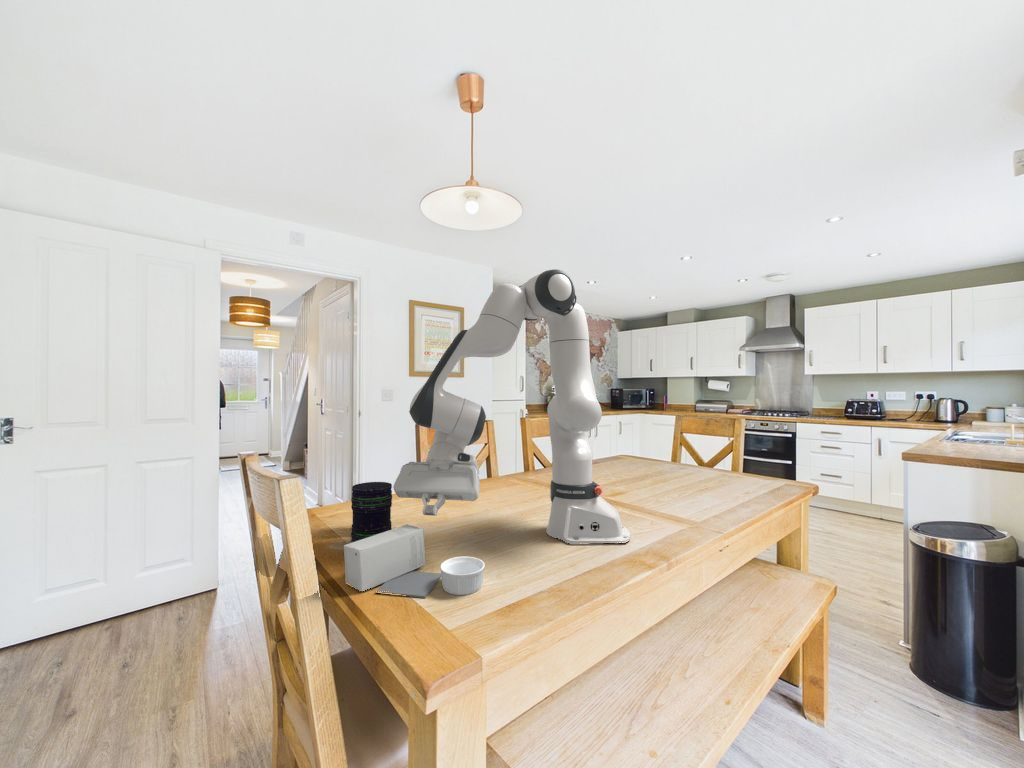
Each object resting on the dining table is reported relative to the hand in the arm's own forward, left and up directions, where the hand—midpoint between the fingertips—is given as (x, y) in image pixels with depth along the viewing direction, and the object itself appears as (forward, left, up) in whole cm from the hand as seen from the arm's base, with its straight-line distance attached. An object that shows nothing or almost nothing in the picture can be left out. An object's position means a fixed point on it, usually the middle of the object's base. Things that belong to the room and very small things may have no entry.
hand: (429, 514), depth 94 cm
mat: (0, +9, -11) cm, 15 cm away
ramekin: (-10, +8, -12) cm, 17 cm away
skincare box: (+3, 0, -7) cm, 7 cm away
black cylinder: (+19, -10, -12) cm, 24 cm away
